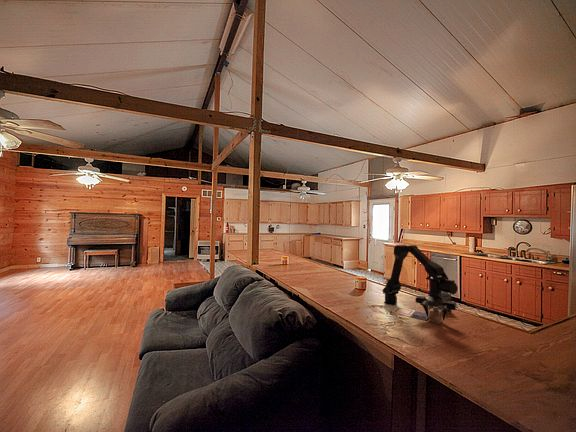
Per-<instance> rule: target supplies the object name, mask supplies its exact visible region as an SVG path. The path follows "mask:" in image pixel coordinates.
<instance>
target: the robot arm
mask: <svg viewBox="0 0 576 432" xmlns="http://www.w3.org/2000/svg"><path fill="white" fill-rule="evenodd" d="M393 248H394V249H393V256H394V262H393V266H392V270H391V276H390V278H389V279H388V280H387V282H386V284H385V287H384V288H383V289H382V294H384V301H383V303H384V304H387V305H391V306H392V305H393V306H394V305H396V304H397V303H398V296H397V294H399V292H400V290H402V289H401V288H402V285H403V284H402V283H401V282H400V276H401V272H402V268H403V263H404V260H405V259H406V257H407V256H408V255H409V253H410V254H411V255H413V257H414V258H415V259H416V260H417V261H418V262H420V264H421V266H423V267H424V271H425V272H426V274H427V275H428V276H427V277H426V278H425V279H426V280H427V281H429V291H428V296H423V295H417V296H416V297H415V303H416V304H419V305H420V306H422V307H423V309H424V311H425V312H424V313H426V315H427V317H428V316H429V310H430V309H429V306H434V307H438V305H443V306H445V308H444V312H442V321H445V319H446V316H447V314H448V313H449V312H448V311H450V310H451V311H452V310H453V311H456V310H457V308H458V303H457V302H455V301H453V300H451V301H448V302H447V303H446V302H443V298H442V292H446V293H449V294H451V295H456V294H457V292H458V290H459V289H458V285H457V283H456V282H455V280H453V279H449V277H448V275H447V273H446V271H445V269H444V267H442V266H441V265H440V264H439V263H436V262H434V261H432V260H431V258H429V257H428V256H427V255H426V254H425V253H424V252H423V251H422V250H420V249H419V248H418V246H417V245H415V244H411V245H407V244H397V245H394V247H393Z"/></svg>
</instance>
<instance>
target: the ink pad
mask: <svg viewBox="0 0 576 432" xmlns="http://www.w3.org/2000/svg"><path fill="white" fill-rule="evenodd" d="M410 317H411V318H414V319H419V320H422V321H428V319H429V316H428V317H427V315H426V312H421V311H417V310H416V311H414V312H413V313H412V314H411V316H410Z"/></svg>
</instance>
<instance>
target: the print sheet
mask: <svg viewBox="0 0 576 432" xmlns="http://www.w3.org/2000/svg"><path fill="white" fill-rule="evenodd" d="M414 311H417V310H415V309H410V308H405V307H401V306H397V307H396V308H395V309H393V310H392V311H391V313H392V314H397V315H401V316H405V317H411V314H412V313H413V312H414Z"/></svg>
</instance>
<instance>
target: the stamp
mask: <svg viewBox="0 0 576 432" xmlns="http://www.w3.org/2000/svg"><path fill="white" fill-rule="evenodd" d="M428 310H429V318H428V319H429V320H428V321H429V323H433V324H439V325H441V323H442V321H443V312H442V310H438V307H433V308H431V309H428Z"/></svg>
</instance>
